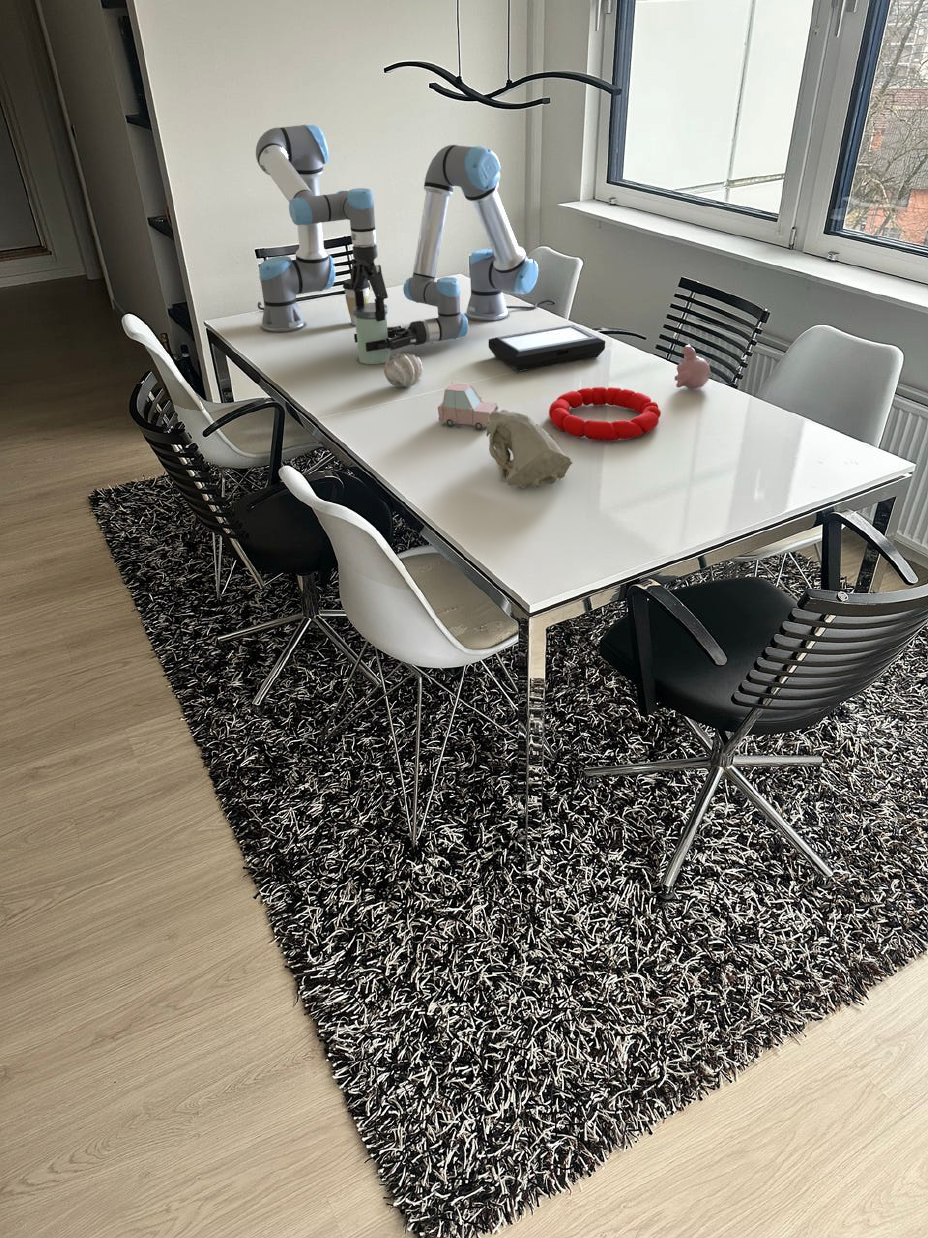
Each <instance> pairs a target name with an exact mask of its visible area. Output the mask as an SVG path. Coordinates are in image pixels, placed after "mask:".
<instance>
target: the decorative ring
mask: <svg viewBox="0 0 928 1238" xmlns="http://www.w3.org/2000/svg"><path fill="white" fill-rule="evenodd" d="M583 405H584V406H586V407H587V406H591V405H593V406H604V405H608V406H614V407H619V408H624V409H628V410H632V411H635V412H636V413H638V414H639V415H637V416H635V417H632V418H631V419H630V420H625V419H624V420H623V419H622V420H614V421H611V422H609V421H607V420H606V421H605V420H593V419H587V420H586V421H585V419H584V418H582V417H579V416H577V415H573V414H571V413H570V410H571V409H579V408H581V407H582V406H583ZM548 416H549V419H550V422H551V423H552V425H553V426H554V427H555V428H556V429H558V430H559V431H561V432H563V433H567V434H568V435H569V436H573V437H576V438H580V439H582V438H583V437H585V438H586V439H587V440H591V441H601V442H602V441H603V442H608V441H609V442H610V441H611V442H612V441H615V442H616V441H618V440H630V439H634V438H638V437H641V436H642V434H647V433H650V432H651V431H653V430H654V429H655V428H656V427H657V426H658V424H659V422H660V421H659V420H660V417H661V410H660V408H659V405H658V403H657V402H656V401H652V399H651V397H649V396H648V395H646V394H644V393H642V392H635V391H634V390H632V389H628V388H624V389H622V388H620V387H613V386H612V387H611V386H610V387H608V388H606V387H604V386H594V387H585V388H584V387H583V388H580V389H578V390H571V391H568V392H565V393H563V394H561V395H560V396H558V397H557V398H556V400H554V401H552V403H551V404H550V407H549V409H548Z"/></svg>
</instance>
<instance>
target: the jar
mask: <svg viewBox="0 0 928 1238" xmlns="http://www.w3.org/2000/svg"><path fill="white" fill-rule="evenodd" d="M387 319H388V317H387V314H386V315H385V320H383V321H379V322H377V320H376V318H359V317H356V316H355V322H356V325H355V331H356V332H355V334H357V343H356V344H357V351H358V361H359V362H360V363H361V364H365V365H378V364H379V365H380V364H383V363H384V364H385V363H386V361H387V359H388V358H389V357H390V349H387V348H386V349H381V350H375V351H369V352H367V351H366V343H367V342H373V341H379V340H385V342H386V338H388V331H387V327H388V320H387ZM388 339H389V338H388Z"/></svg>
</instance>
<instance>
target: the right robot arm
mask: <svg viewBox="0 0 928 1238" xmlns="http://www.w3.org/2000/svg"><path fill="white" fill-rule="evenodd" d="M500 171H501V164H500V161H499V158H498V156H497V155H496V153H495V152H494V151H493V150H491V149H489V148H487V147H483V146H478V145H477V146H470V145H458V144H449V145H446V146H444V147H442V148H441V149H440V150H438V152H437V153H436V154H435V155H434V157H433V158H432V160H431V162H430V164H429V166H428V168H427V171H426V174H425V177H424V184H423V189H424V191H425V198H424V202H423V208H422V209H423V210H422V216H421V222H420V228H419V234H418V240H417V246H416V252H415V259H414V265H413V270H412V276H411V277H408V278H407V279H406V280H405V282H404V283H403V289H402V291H403V295H404V297H405V298H406V299H407V300H409V301H410V302H411V301H412V302H414V303H417V304H424V305H429V306H431V307H432V306H433V307H436V308H437V317H433V318H427V319H426V318H425V319H422V320H416V321H411V322H409V325H408V327H402V325H396V326H387V331H388V338H386V342H385V340H379V341H373V342H367V343H366V351H367V352H369V351H375V350H381V349H386V348H387V349H389V350H391V351H395V350H398V349H402V348H404V347H408V346H412V345H414V346H420V345H425V344H431V345H433V344H434V343H437V342H443V341H448V340H456V339H460V338H464V337H466V336H467V334H468V332H469V329H470V328H469V326H470V325H469V323H468V319H469V320H472V321H477V322H493V321H500V320H503V319H506V318H507V317H508V309H516V310H517V309H522V310H534V309H536V308H537V306H539V305H542V304H545V303H551V304H553V305H556V304H557V302H556V301H554V300H553V299H543V300H541V301H538V302H536V303H534V304H533V306H526V305H507V304H506V301H505V298H504V293H503V291H504V292H508V293H512V294H516V295H519V294H520V295H527V294H529V293H530V292H531V291H532V290H533V288H535V285H536V284H537V280H538V278H539V277H538V276H539V265H538V264H537V262H536V261H535V260H533V259H532V258H528V256H527V254H526V250H525V249H524V248H523V247H522V246H520V245H518V243H517V239H516V237H515V234H514V232H513V230H512V227H511V225H510V222H509V219H508V217H507V214H506V212H505V209H504V205H503V204H502V201H501V198H500V196H499V193H498V191H497V189H498V187H499V181H500V178H501V173H500ZM455 187H459V188H460V189H461V191H462V193H463V196H464V198H465V200H467V201H469V202H471V203H472V205H473V207H474V210H475V212H476V214H477V217H478V219H479V222H480V225H481V226H482V229H483V231H484V234H485V236H486V239H487V241H488V243H489V246H490V248H483V249H479V250H475V251H473V252H472V253H471V254H470V257H469V261H470V262H469V277H470V279H469V280H470V296H469V300H468V304H467V308H466V310H465V311H466V315H465V314H463V313H461V290H460V281H459V280H458V278H456V277H449V276H446V277H445V276H444V277H440V278H438V279H437V280H436V272H437V267H438V263H439V262H438V261H439V256H440V249H441V245H442V240H443V239H442V238H443V232H444V228H445V223H446V222H445V221H446V216H447V212H448V211H447V210H448V205H449V199H450V197H451V196H452V195H453V193H454V189H455ZM435 280H436V281H435ZM353 337H354V338H353V339H354V343H356V344H358V343H357V333H353Z"/></svg>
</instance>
